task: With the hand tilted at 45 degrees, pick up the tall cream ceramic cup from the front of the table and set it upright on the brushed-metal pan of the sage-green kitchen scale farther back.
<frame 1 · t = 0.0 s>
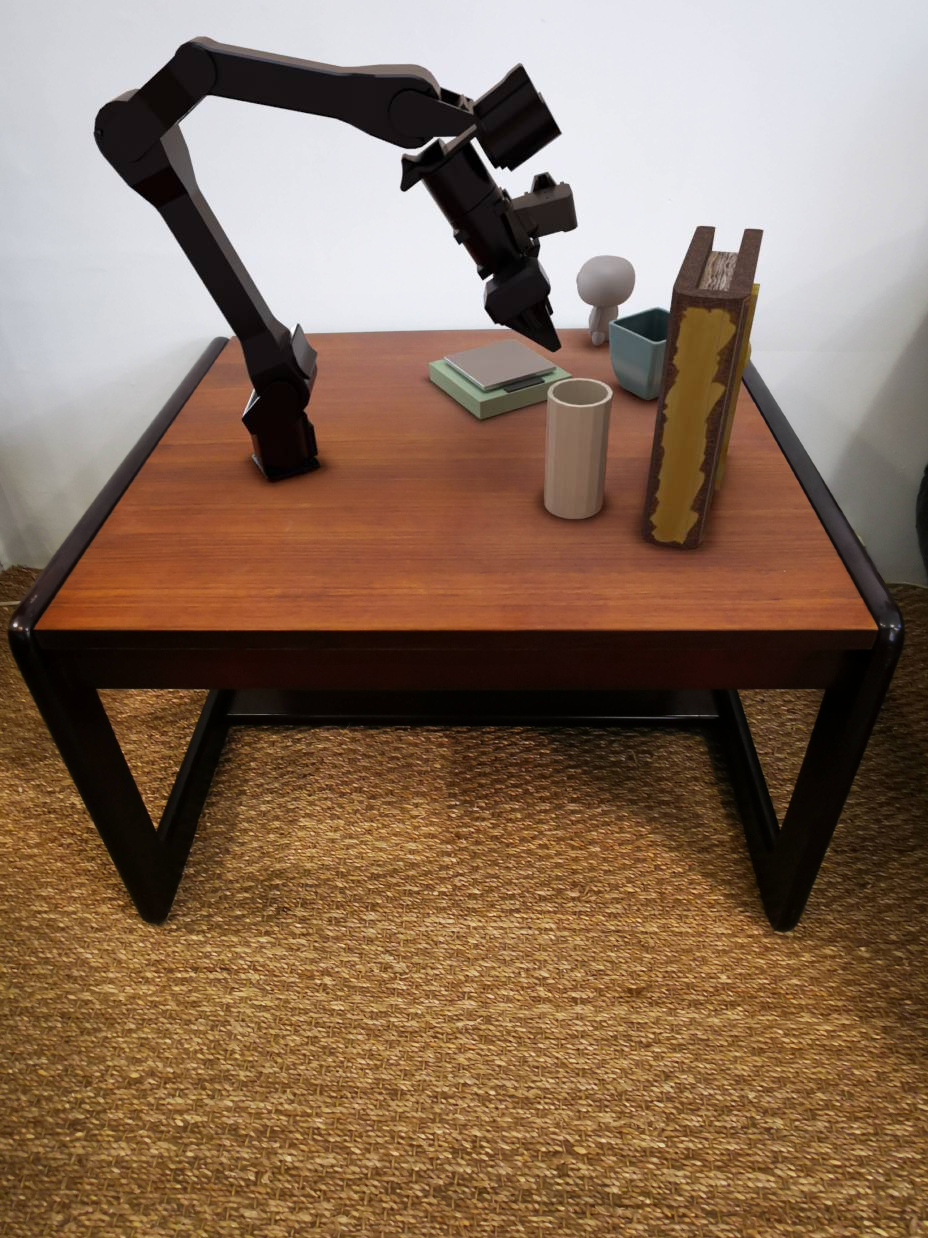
hand: (553, 331, 88), 15 cm above the table, tool tilted 35°, fingers open, 9 cm apart
scale: (499, 385, 112), on the table
figurine: (601, 344, 122), on the table
flower pot: (648, 391, 110), on the table
scale pan: (499, 363, 110), point 3 cm above the table, slide at 0.0 cm
book: (683, 491, 92), on the table
cup: (573, 502, 90), on the table
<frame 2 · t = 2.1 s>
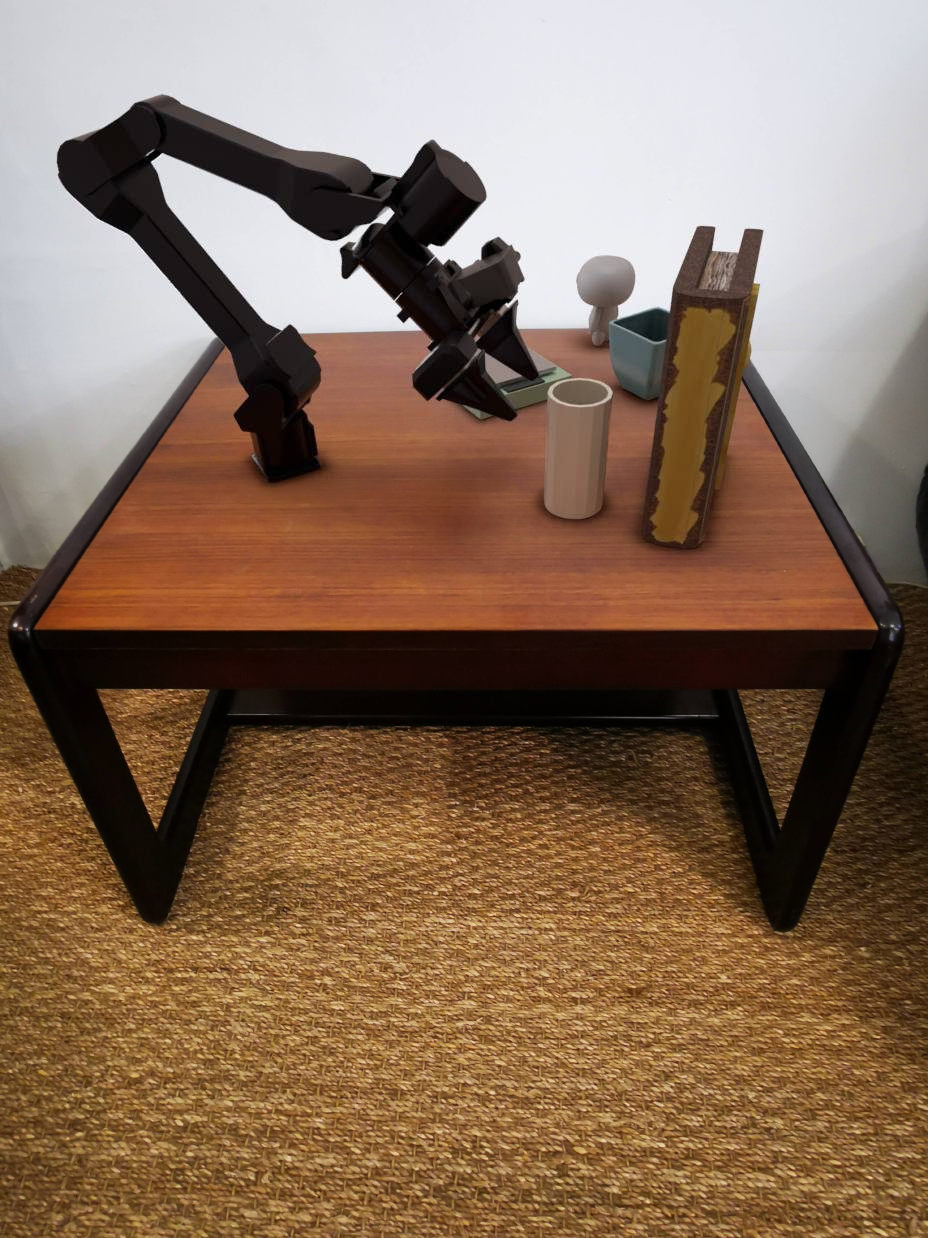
hand: (525, 397, 84), 12 cm above the table, tool tilted 45°, fingers open, 9 cm apart
nothing on the table moved.
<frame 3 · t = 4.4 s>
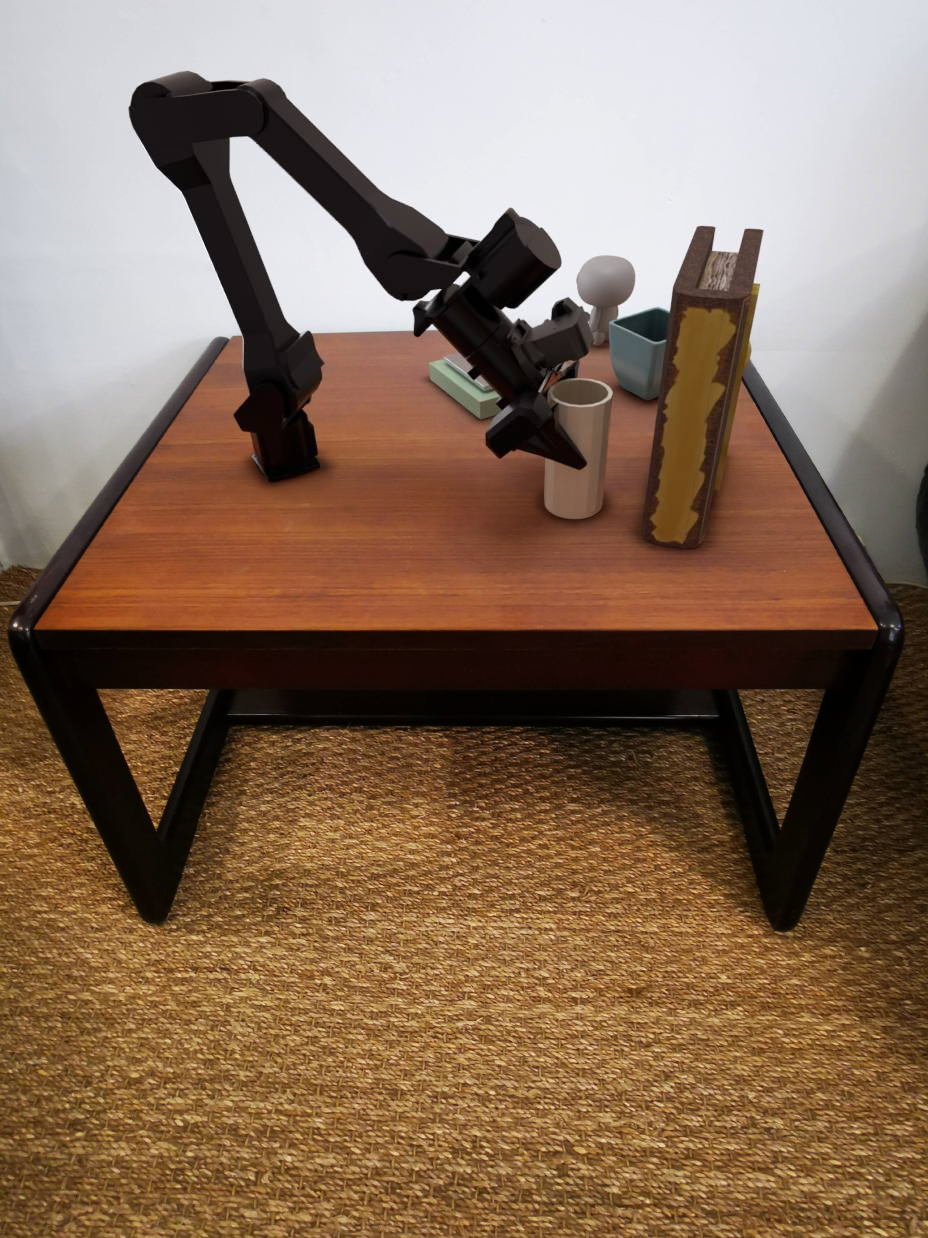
hand: (589, 451, 86), 7 cm above the table, tool tilted 45°, fingers closed on cup, 6 cm apart
cup: (573, 502, 90), on the table, touching gripper
everything else where it was.
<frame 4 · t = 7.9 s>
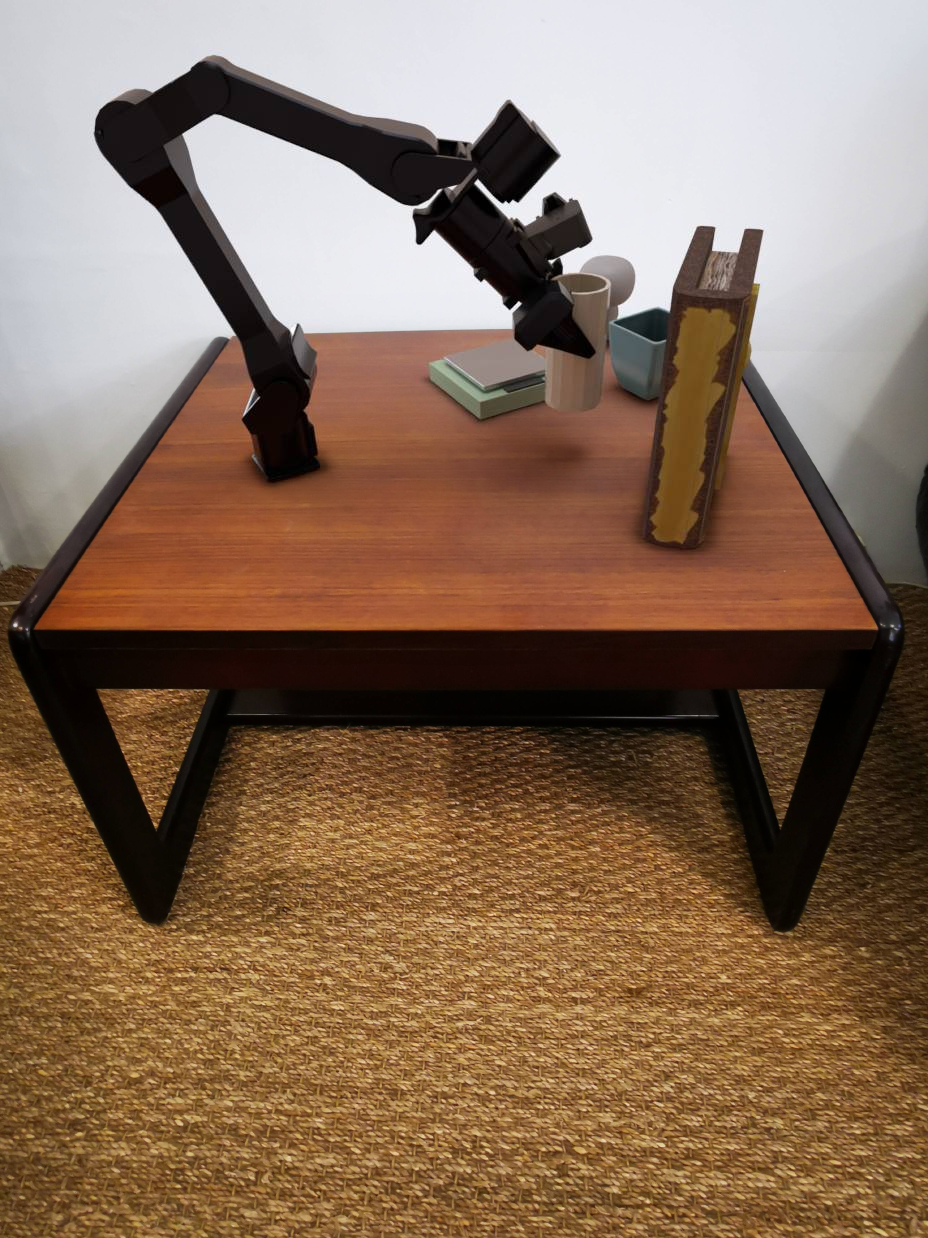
hand: (588, 342, 89), 13 cm above the table, tool tilted 45°, fingers closed on cup, 6 cm apart
cup: (572, 399, 94), point 7 cm above the table, touching gripper
everything else where it was.
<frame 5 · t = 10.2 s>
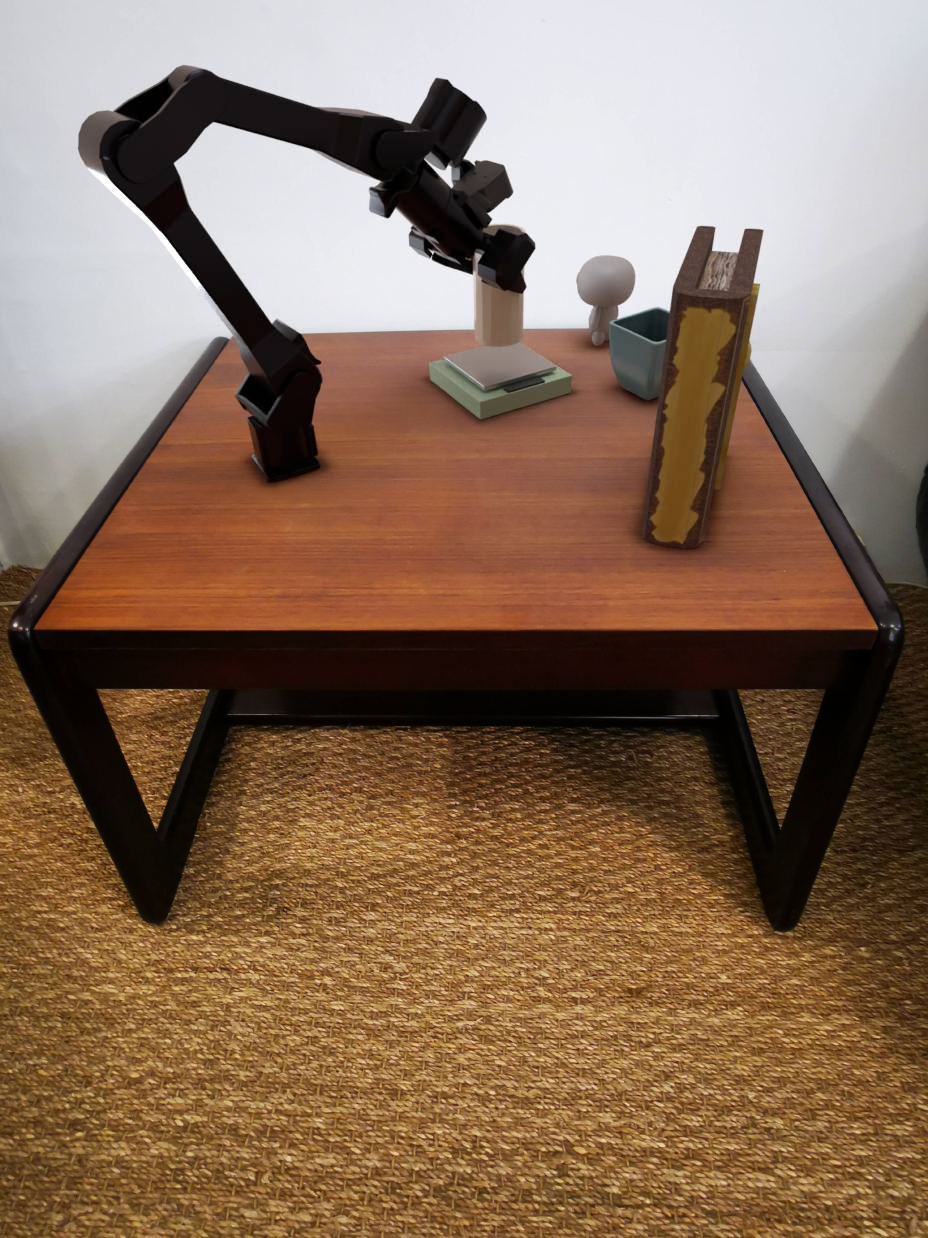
hand: (507, 283, 104), 13 cm above the table, tool tilted 45°, fingers closed on cup, 6 cm apart
cup: (498, 336, 108), point 7 cm above the table, touching gripper
everything else where it was.
when the fingers open (10 cm above the table, at t = 11.8 s): cup stays where it is, resting on scale pan.
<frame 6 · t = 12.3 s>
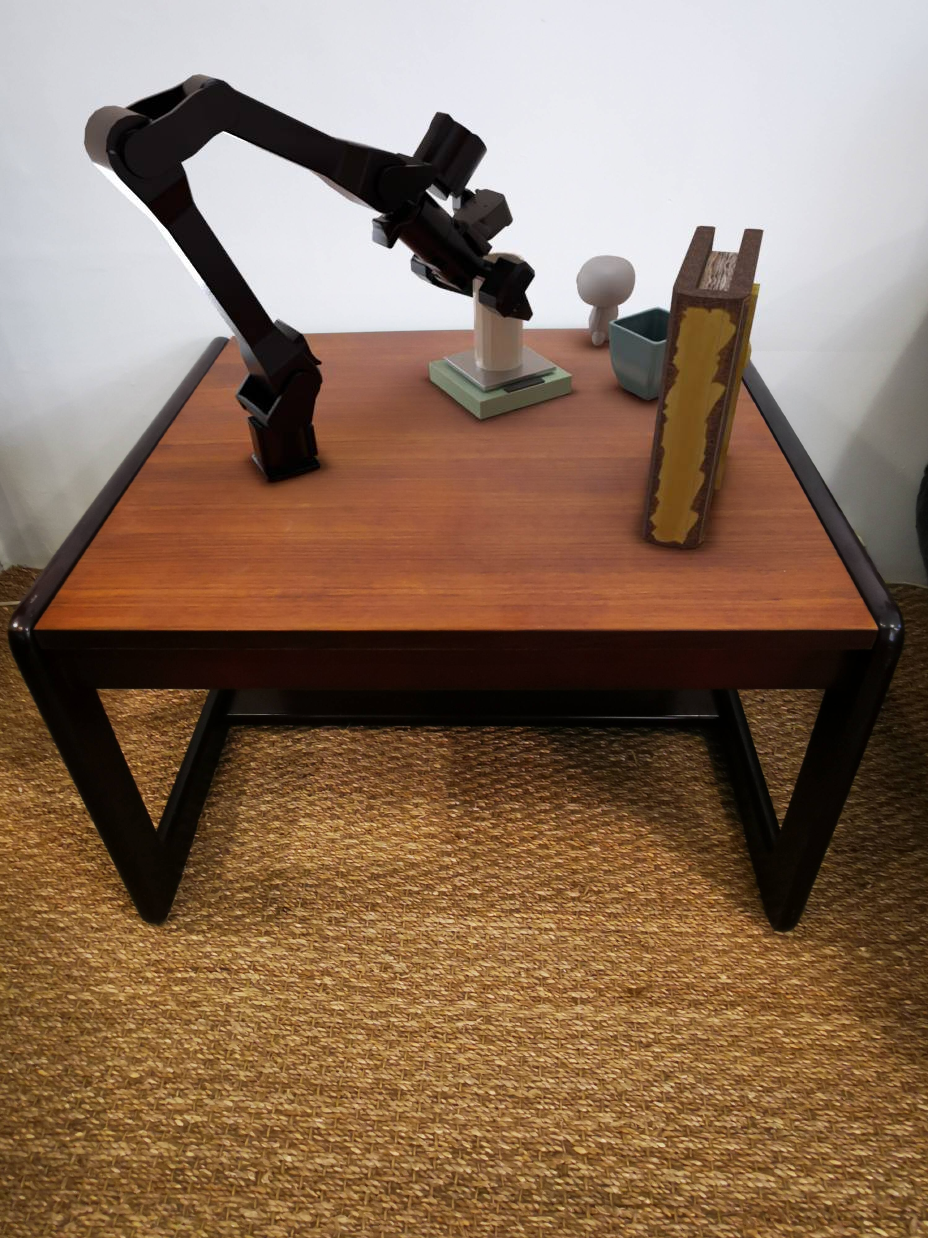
hand: (507, 306, 106), 10 cm above the table, tool tilted 45°, fingers open, 9 cm apart
scale pan: (499, 363, 110), point 3 cm above the table, slide at 0.0 cm, touching cup
cup: (498, 361, 110), point 4 cm above the table, touching scale pan
everything else where it was.
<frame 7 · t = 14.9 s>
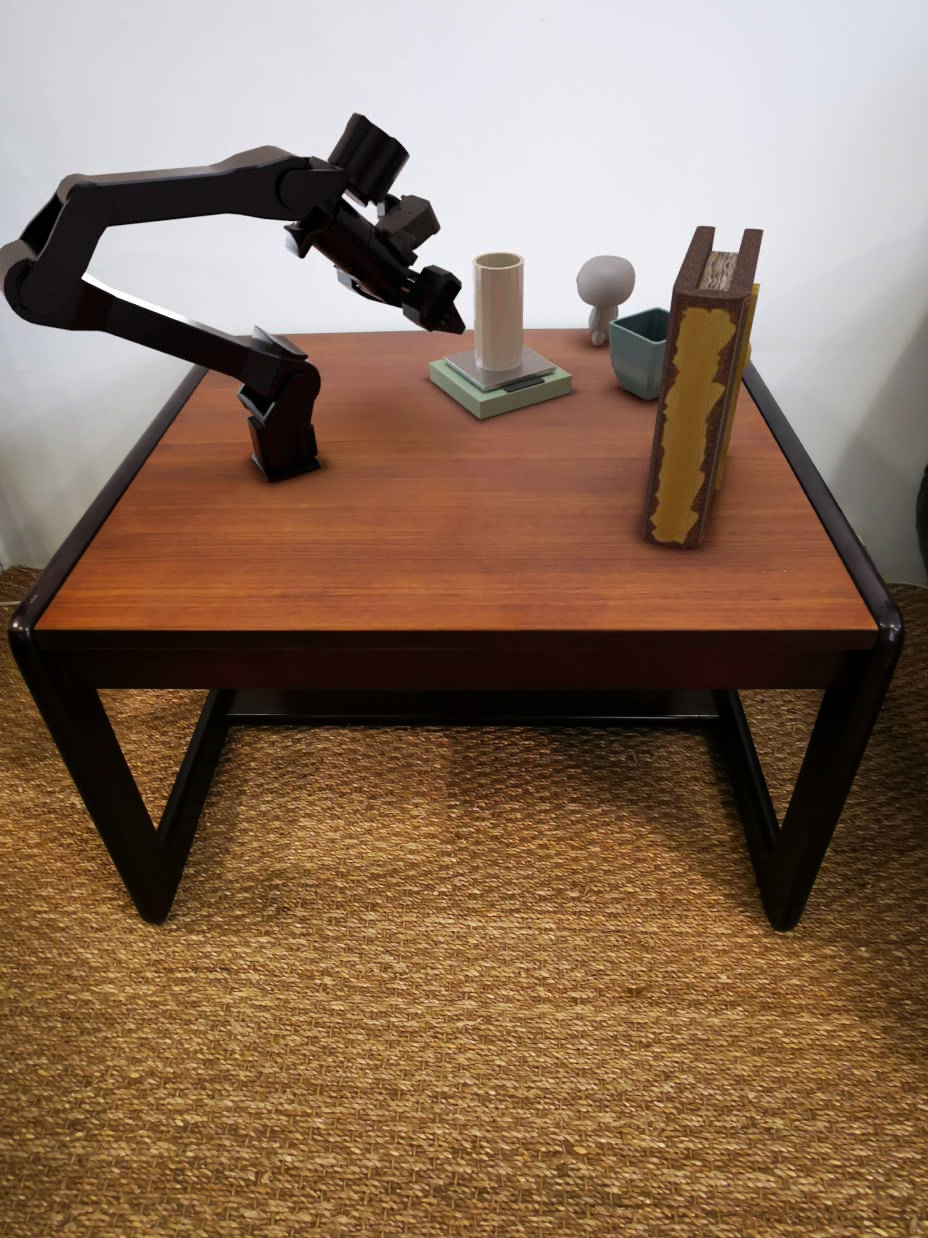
hand: (440, 319, 100), 12 cm above the table, tool tilted 45°, fingers open, 9 cm apart
nothing on the table moved.
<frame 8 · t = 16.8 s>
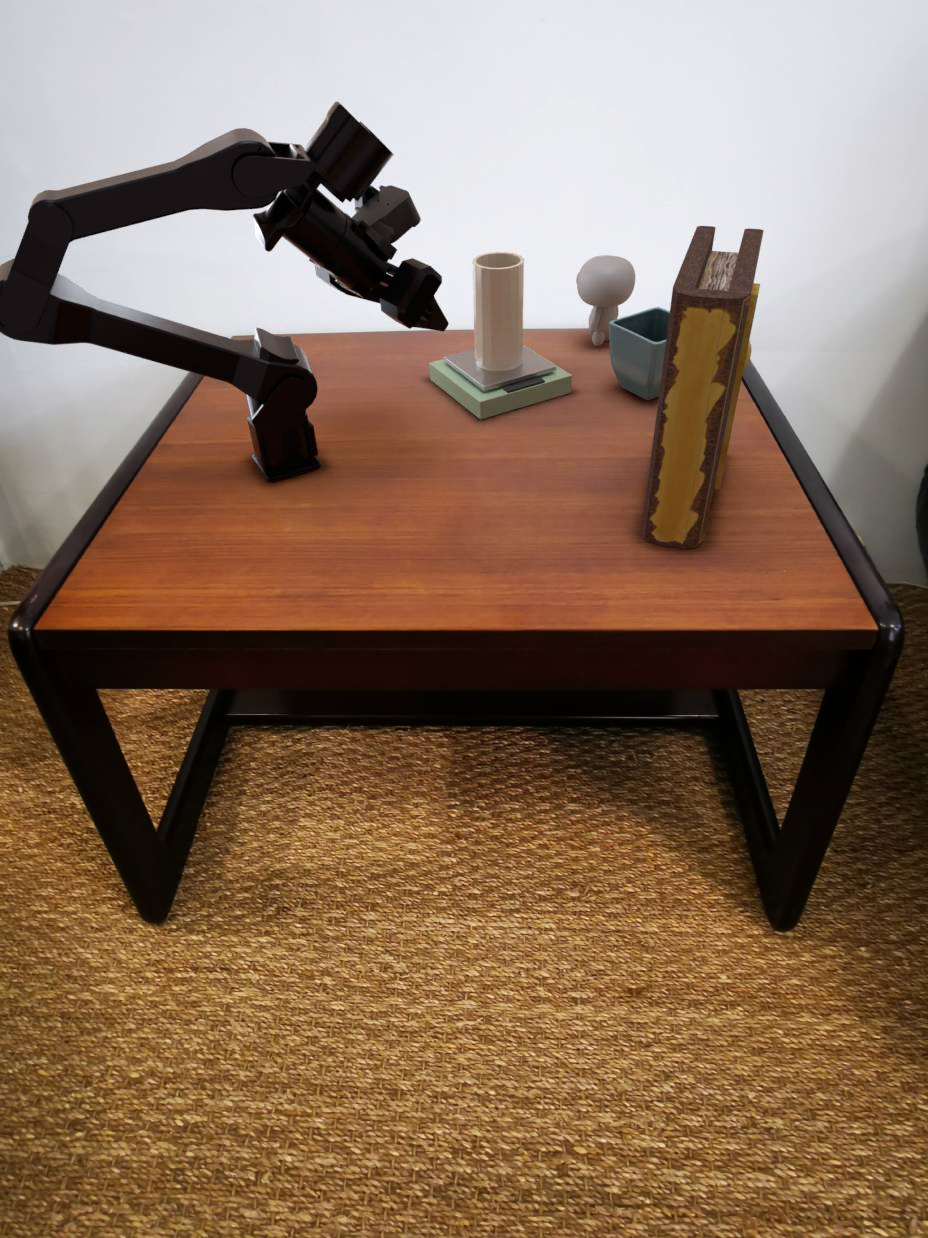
hand: (423, 315, 97), 14 cm above the table, tool tilted 45°, fingers open, 9 cm apart
nothing on the table moved.
at the end: cup inside the target area on the scale (0.0 cm from its centre), point 3.5 cm above the scale's base; cup tilted 0°; the gripper is holding nothing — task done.
